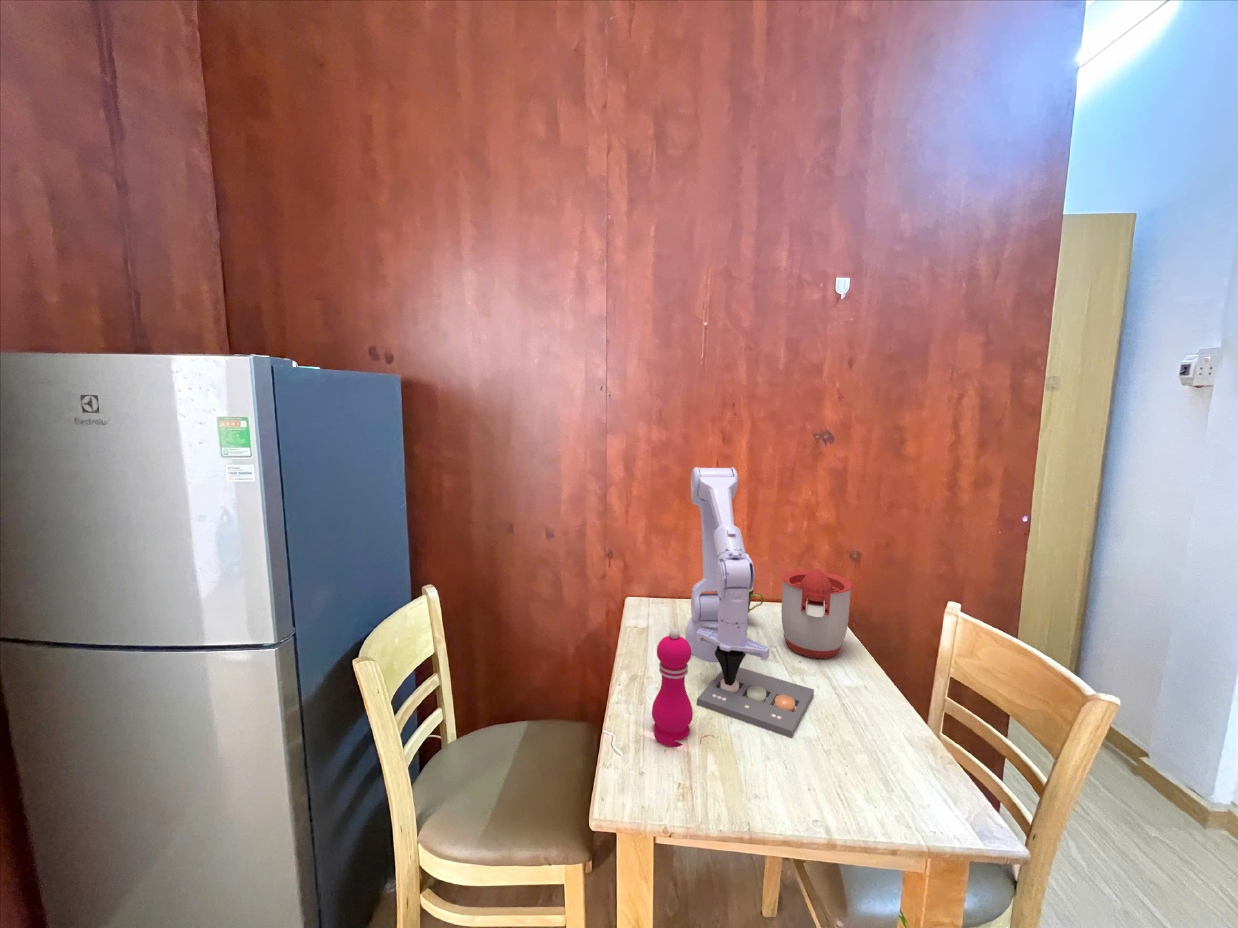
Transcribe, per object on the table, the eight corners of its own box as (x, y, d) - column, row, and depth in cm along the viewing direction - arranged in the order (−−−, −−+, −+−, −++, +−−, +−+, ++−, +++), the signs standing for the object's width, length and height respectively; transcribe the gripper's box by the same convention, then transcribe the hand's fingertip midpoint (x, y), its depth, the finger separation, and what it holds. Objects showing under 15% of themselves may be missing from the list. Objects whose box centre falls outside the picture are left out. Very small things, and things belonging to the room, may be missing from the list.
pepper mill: (695, 728, 99) (699, 623, 96) (687, 752, 92) (691, 641, 89) (657, 719, 101) (659, 617, 98) (646, 743, 94) (648, 634, 91)
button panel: (696, 710, 104) (696, 697, 104) (727, 674, 117) (728, 662, 117) (791, 744, 94) (792, 729, 94) (813, 701, 108) (814, 688, 107)
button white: (717, 697, 108) (717, 683, 108) (724, 689, 111) (724, 675, 111) (734, 703, 106) (735, 689, 106) (741, 695, 109) (741, 681, 109)
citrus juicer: (775, 660, 124) (780, 576, 121) (780, 629, 140) (784, 554, 138) (849, 673, 119) (855, 585, 116) (845, 639, 135) (851, 562, 132)
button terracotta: (771, 716, 102) (772, 701, 102) (777, 707, 105) (778, 692, 105) (791, 722, 100) (792, 707, 100) (796, 713, 103) (797, 698, 103)
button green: (743, 706, 105) (744, 692, 105) (750, 698, 108) (750, 684, 108) (762, 712, 103) (762, 698, 103) (767, 703, 106) (768, 689, 106)
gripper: (690, 616, 107) (688, 680, 109) (762, 634, 99) (758, 703, 101) (704, 604, 113) (702, 666, 115) (774, 621, 105) (770, 686, 107)
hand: (729, 682), depth 108 cm, fingers closed, pressing on button white
